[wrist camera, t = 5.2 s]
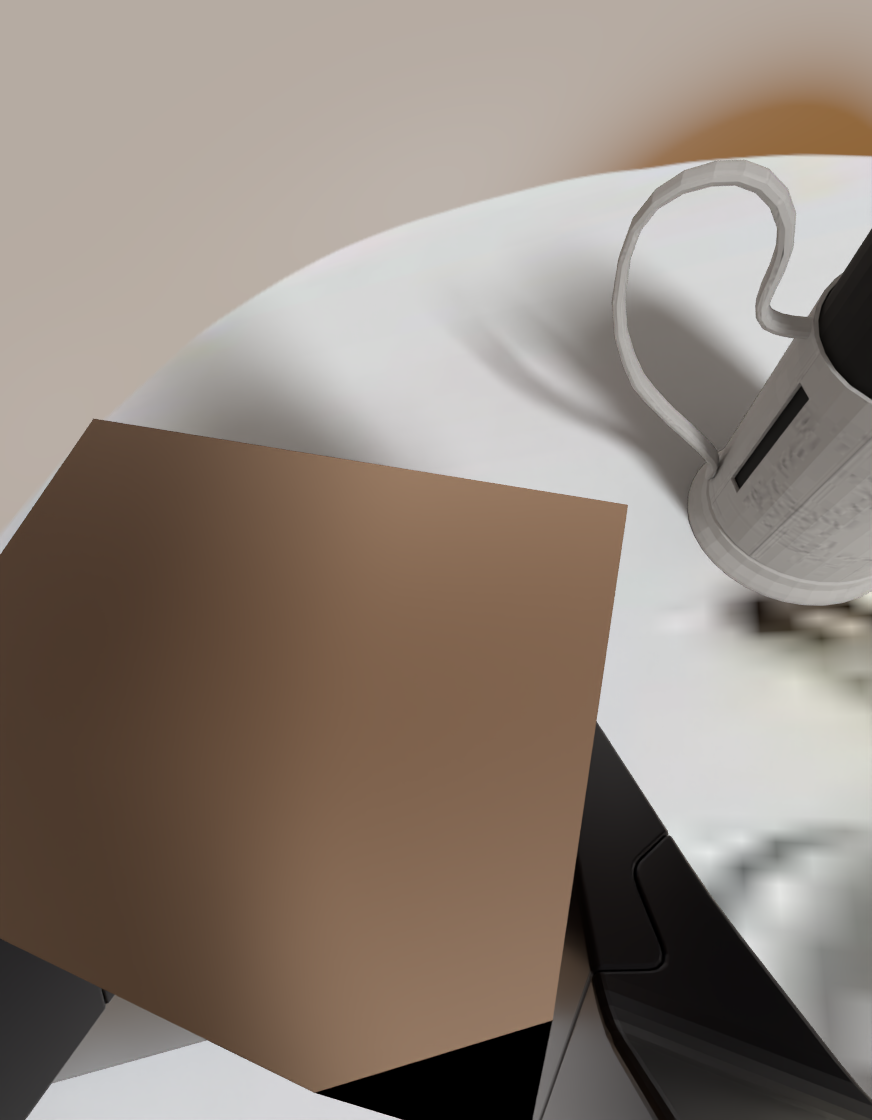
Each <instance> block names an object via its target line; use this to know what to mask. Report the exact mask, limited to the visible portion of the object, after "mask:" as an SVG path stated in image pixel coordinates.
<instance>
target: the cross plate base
mask: <svg viewBox="0 0 872 1120" xmlns="http://www.w3.org/2000/svg"><path fill="white" fill-rule="evenodd" d="M202 1041H206V1039H204V1038H202V1037H200V1036H198V1035H196V1034H194V1033H192V1032H190V1031H188V1030H186V1029H184V1028H182V1027H179V1026H177V1025H175V1024H173V1023H171V1022H169V1021H167V1020H165V1019H163V1018H161V1017H159V1016H157V1015H155V1014H153V1013H151V1012H149V1011H147V1010H145V1009H143V1008H141V1007H139V1006H137V1005H135V1004H133V1003H131V1002H129V1001H126V1000H124V999H122V998H120V997H118V996H116V995H115V996H114V997H113V998H112V1000H111V1001H110V1002H109V1003H108V1004H106V1008H105V1010H104V1012H103V1013H102V1014H101V1016H100V1017H99V1018H98V1020H97V1021H96V1023H95V1024H94V1025H93V1027H92V1028H91V1030H90V1031H89V1032H88V1034H87V1035H86V1036H85V1038H84V1039H83V1041H82V1042H81V1043H80V1045H79V1046H78V1048H77V1049H76V1050H75V1052H74V1053H73V1054H72V1056H71V1057H70V1059H69V1060H68V1061H67V1063H66V1064H65V1065H64V1067H63V1068H62V1070H61V1071H60V1072H59V1074H58V1075H57V1077H56V1078H55V1079H54V1081H53V1082H52V1083H55V1082H59V1081H62V1080H66V1079H70V1078H73V1077H77V1076H80V1075H84V1074H88V1073H91V1072H95V1071H98V1070H102V1069H105V1068H109V1067H113V1066H116V1065H120V1064H123V1063H127V1062H131V1061H134V1060H138V1059H141V1058H145V1057H149V1056H152V1055H156V1054H159V1053H163V1052H167V1051H170V1050H174V1049H177V1048H181V1047H184V1046H188V1045H192V1044H195V1043H199V1042H202ZM52 1083H51V1084H52Z"/></svg>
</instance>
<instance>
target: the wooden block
mask: <svg viewBox="0 0 872 1120" xmlns="http://www.w3.org/2000/svg"><path fill="white" fill-rule="evenodd" d="M627 507H628V505H625V504H619V503H613V502H607V501H600V500H594V499H588V498H582V497H576V496H569V495H563V494H557V493H551V492H545V491H538V490H532V489H526V488H520V487H514V486H507V485H501V484H495V483H489V482H483V481H476V480H470V479H464V478H458V477H452V476H445V475H439V474H433V473H427V472H421V471H414V470H408V469H402V468H396V467H390V466H383V465H377V464H371V463H365V462H359V461H352V460H346V459H340V458H334V457H328V456H321V455H315V454H309V453H303V452H297V451H290V450H284V449H278V448H272V447H266V446H259V445H253V444H247V443H241V442H235V441H229V440H222V439H216V438H210V437H204V436H198V435H191V434H185V433H179V432H173V431H167V430H160V429H154V428H148V427H142V426H136V425H129V424H123V423H117V422H111V421H105V420H98V419H93V420H92V422H91V423H90V425H89V426H88V428H87V429H86V431H85V432H84V434H83V435H82V436H81V438H80V439H79V441H78V442H77V444H76V445H75V447H74V448H73V450H72V451H71V453H70V454H69V455H68V457H67V458H66V460H65V461H64V463H63V464H62V466H61V467H60V469H59V470H58V471H57V473H56V474H55V476H54V477H53V479H52V480H51V482H50V483H49V485H48V486H47V487H46V489H45V490H44V492H43V493H42V495H41V496H40V498H39V499H38V501H37V502H36V503H35V505H34V506H33V508H32V509H31V511H30V512H29V514H28V515H27V517H26V518H25V520H24V521H23V522H22V524H21V525H20V527H19V528H18V530H17V531H16V533H15V534H14V536H13V537H12V538H11V540H10V541H9V543H8V544H7V546H6V547H5V549H4V550H3V552H2V553H1V554H0V939H2V940H4V941H6V942H8V943H10V944H12V945H14V946H16V947H18V948H20V949H23V950H25V951H27V952H29V953H31V954H33V955H35V956H37V957H39V958H41V959H43V960H45V961H47V962H49V963H51V964H53V965H55V966H57V967H59V968H61V969H63V970H65V971H67V972H69V973H71V974H73V975H76V976H78V977H80V978H82V979H84V980H86V981H88V982H90V983H92V984H94V985H96V986H98V987H100V988H102V989H104V990H106V991H108V992H110V993H112V994H114V995H116V996H118V997H120V998H122V999H124V1000H126V1001H129V1002H131V1003H133V1004H135V1005H137V1006H139V1007H141V1008H143V1009H145V1010H147V1011H149V1012H151V1013H153V1014H155V1015H157V1016H159V1017H161V1018H163V1019H165V1020H167V1021H169V1022H171V1023H173V1024H175V1025H177V1026H179V1027H182V1028H184V1029H186V1030H188V1031H190V1032H192V1033H194V1034H196V1035H198V1036H200V1037H202V1038H204V1039H206V1040H208V1041H210V1042H212V1043H214V1044H216V1045H218V1046H220V1047H222V1048H224V1049H226V1050H228V1051H230V1052H233V1053H235V1054H237V1055H239V1056H241V1057H243V1058H245V1059H247V1060H249V1061H251V1062H253V1063H255V1064H257V1065H259V1066H261V1067H263V1068H265V1069H267V1070H269V1071H271V1072H273V1073H275V1074H277V1075H279V1076H281V1077H283V1078H286V1079H288V1080H290V1081H292V1082H294V1083H296V1084H298V1085H300V1086H302V1087H304V1088H306V1089H308V1090H310V1091H312V1092H314V1093H317V1094H320V1095H324V1096H327V1097H330V1098H333V1099H337V1100H340V1101H343V1102H347V1103H350V1104H353V1105H356V1106H360V1107H363V1108H366V1109H369V1110H373V1111H376V1112H379V1113H383V1114H386V1115H389V1116H392V1117H396V1118H399V1119H402V1120H532V1119H533V1114H534V1110H535V1105H536V1100H537V1095H538V1090H539V1085H540V1080H541V1075H542V1070H543V1065H544V1060H545V1055H546V1050H547V1046H548V1041H549V1036H550V1031H551V1026H552V1021H553V1014H554V1007H555V1001H556V994H557V987H558V980H559V973H560V966H561V960H562V953H563V946H564V939H565V932H566V925H567V918H568V912H569V905H570V898H571V891H572V884H573V877H574V870H575V864H576V857H577V850H578V843H579V836H580V829H581V823H582V816H583V809H584V802H585V795H586V788H587V781H588V775H589V768H590V761H591V754H592V747H593V740H594V734H595V727H596V720H597V713H598V706H599V699H600V692H601V686H602V679H603V672H604V665H605V658H606V651H607V644H608V638H609V631H610V624H611V617H612V610H613V603H614V597H615V590H616V583H617V576H618V569H619V562H620V555H621V549H622V542H623V535H624V528H625V521H626V514H627Z"/></svg>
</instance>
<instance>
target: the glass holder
mask: <svg viewBox="0 0 872 1120" xmlns="http://www.w3.org/2000/svg"><path fill="white" fill-rule="evenodd" d="M733 185H735V186H738V187H741V188H743V189H746V190H749V191H752V192H754V193H756V194H757V195H758V196H759V197H760V198H761V199H762V200H763V201H764V202H765V203H766V204H767V205H768V206H769V207H770V210H771V213H772V215H773V218H774V221H775V223H776V226H777V239H776V247H775V250H774V253H773V256H772V259H771V262H770V265H769V267H768V269H767V272H766V274H765V276H764V278H763V280H762V283H761V286H760V289H759V292H758V295H757V298H756V305H755V307H756V319H757V321H758V322H759V324H760V325H761V327H762V328H763V329H764V330H766V331H768V332H770V333H772V334H775V335H779V336H783V337H789V338H794V339H793V341H792V342H791V344H790V346H789V347H788V349H787V350H786V352H785V353H784V355H783V357H782V358H781V360H780V361H779V363H778V365H777V366H776V368H775V369H774V371H773V372H772V374H771V376H770V377H769V379H768V380H767V382H766V383H765V385H764V387H763V388H762V390H761V391H760V393H759V395H758V396H757V398H756V399H755V401H754V402H753V404H752V406H751V407H750V409H749V410H748V412H747V413H746V415H745V417H744V418H743V420H742V421H741V423H740V425H739V426H738V428H737V429H736V431H735V432H734V434H733V436H732V437H731V439H730V440H729V442H728V443H727V445H726V447H725V448H724V449H723V450H721V451H719V452H717V450H716V449H715V447H714V446H713V445H712V444H711V443H710V442H709V440H708V439H707V438H706V437H705V436H704V435H703V434H702V433H701V432H700V431H699V430H698V429H697V428H696V427H695V426H693V425H692V424H691V423H690V422H689V421H688V420H687V419H686V418H685V417H684V416H682V415H681V414H680V413H679V412H678V411H677V410H676V409H675V408H674V407H673V406H672V405H671V404H670V403H669V402H668V401H667V400H666V399H665V398H664V397H663V396H662V395H661V394H660V392H659V391H658V390H657V389H656V388H655V387H654V385H653V384H652V383H651V382H650V380H649V379H648V378H647V376H646V375H645V374H644V372H643V370H642V368H641V365H640V363H639V361H638V359H637V357H636V354H635V352H634V349H633V345H632V342H631V338H630V335H629V332H628V328H627V314H626V298H625V296H626V288H627V281H628V274H629V267H630V260H631V256H632V253H633V251H634V248H635V245H636V242H637V240H638V237H639V234H640V232H641V230H642V229H643V227H644V226H645V225H646V224H647V222H648V221H649V220H650V218H651V217H652V216H653V215H654V213H655V212H656V211H657V210H658V209H659V208H661V207H662V206H664V205H666V204H667V203H669V202H671V201H672V200H674V199H676V198H677V197H679V196H681V195H682V194H685V193H688V192H692V191H696V190H700V189H703V188H707V187H711V186H733ZM795 221H796V211H795V208H794V205H793V202H792V199H791V196H790V193H789V190H788V188H787V187H786V186H785V185H784V184H783V183H782V182H781V181H780V180H779V179H778V178H777V177H776V175H775V174H774V173H773V172H772V171H771V170H770V169H768V168H766V167H763V166H760V165H758V164H755V163H752V162H750V161H747V160H725V161H714V162H711V163H707V164H704V165H701V166H697V167H694V168H691V169H687V170H684V171H683V172H681V173H680V174H678V175H677V176H675V177H674V178H672V179H670V180H669V181H667V182H666V183H664V184H663V185H661V186H660V187H658V188H657V189H656V190H655V191H654V192H653V193H652V195H651V196H650V197H649V198H648V200H647V201H646V202H645V203H644V205H643V206H642V207H641V208H640V210H639V211H638V212H637V214H636V215H635V216H634V217H633V219H632V222H631V225H630V227H629V230H628V233H627V236H626V238H625V241H624V244H623V247H622V250H621V252H620V256H619V259H618V264H617V271H616V278H615V284H614V291H613V298H612V311H613V325H614V337H615V341H616V344H617V348H618V351H619V354H620V358H621V361H622V365H623V367H624V370H625V372H626V374H627V376H628V379H629V381H630V383H631V386H632V388H633V389H634V390H635V391H636V392H637V394H638V395H639V396H640V397H641V398H642V399H643V401H644V402H645V403H646V404H647V405H648V406H649V407H650V408H651V409H652V410H653V411H654V412H655V413H656V414H657V415H658V416H659V417H660V418H661V419H662V420H663V421H664V422H665V423H666V424H667V425H668V426H669V427H670V428H672V429H673V430H674V431H675V432H676V433H677V434H678V435H680V436H681V437H682V438H683V439H684V440H685V441H686V442H687V443H688V444H689V445H691V446H692V447H693V448H694V449H695V450H696V451H697V452H698V453H699V454H700V455H701V456H702V457H703V458H704V460H705V461H706V463H705V464H704V465H703V466H702V467H701V468H700V469H699V471H698V472H697V474H696V476H695V478H694V479H693V481H692V484H691V487H690V491H689V494H688V508H687V509H688V515H689V521H690V525H691V527H692V530H693V533H694V535H695V537H696V539H697V541H698V542H699V544H700V546H701V547H702V549H703V551H704V552H705V553H706V554H707V556H708V557H709V558H710V559H711V560H712V561H713V563H714V564H715V565H716V566H718V567H719V568H720V569H721V570H722V571H723V572H724V573H726V574H727V575H728V576H729V577H731V578H732V579H734V580H735V581H737V582H738V583H740V584H741V585H743V586H745V587H746V588H749V589H751V590H753V591H755V592H757V593H759V594H761V595H764V596H767V597H770V598H773V599H776V600H779V601H783V602H788V603H794V604H800V605H831V604H838V603H844V602H847V601H850V600H853V599H856V598H860V597H861V596H863V595H865V594H867V593H869V592H871V591H872V229H871V231H870V232H869V234H868V235H867V237H866V238H865V240H864V241H863V243H862V245H861V246H860V248H859V249H858V251H857V252H856V254H855V255H854V257H853V258H852V260H851V262H850V263H849V265H848V266H847V268H846V269H845V271H844V272H843V273H842V274H841V275H839V276H838V277H837V278H835V280H834V281H833V282H832V283H831V284H830V285H829V286H828V287H827V288H826V289H825V290H824V292H823V293H822V295H821V297H820V298H819V300H818V301H817V303H816V305H815V306H814V308H813V309H812V311H811V312H810V314H809V316H808V317H801V316H792V315H787V314H783V313H780V312H778V311H776V310H773V309H772V308H771V306H770V302H771V299H772V297H773V295H774V292H775V290H776V288H777V286H778V284H779V282H780V280H781V278H782V276H783V274H784V272H785V269H786V267H787V264H788V261H789V258H790V256H791V253H792V250H793V245H794V234H795Z"/></svg>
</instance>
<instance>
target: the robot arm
mask: <svg viewBox="0 0 872 1120" xmlns="http://www.w3.org/2000/svg"><path fill="white" fill-rule="evenodd" d="M114 996H115V995H114V994H112V993H110V992H108V991H106V990H104V989H102V988H100V987H98V986H96V985H94V984H92V983H90V982H88V981H86V980H84V979H82V978H80V977H78V976H76V975H73V974H71V973H69V972H67V971H65V970H63V969H61V968H59V967H57V966H55V965H53V964H51V963H49V962H47V961H45V960H43V959H41V958H39V957H37V956H35V955H33V954H31V953H29V952H27V951H25V950H23V949H20V948H18V947H16V946H14V945H12V944H10V943H8V942H6V941H4V940H2V939H0V1120H25V1119H26V1118H27V1117H28V1115H29V1114H30V1113H31V1111H32V1110H33V1108H34V1107H35V1106H36V1104H37V1103H38V1101H39V1100H40V1099H41V1097H42V1096H43V1095H44V1093H45V1092H46V1090H47V1089H48V1088H49V1086H50V1085H51V1083H52V1082H53V1081H54V1079H55V1078H56V1077H57V1075H58V1074H59V1072H60V1071H61V1070H62V1068H63V1067H64V1065H65V1064H66V1063H67V1061H68V1060H69V1059H70V1057H71V1056H72V1054H73V1053H74V1052H75V1050H76V1049H77V1048H78V1046H79V1045H80V1043H81V1042H82V1041H83V1039H84V1038H85V1036H86V1035H87V1034H88V1032H89V1031H90V1030H91V1028H92V1027H93V1025H94V1024H95V1023H96V1021H97V1020H98V1018H99V1017H100V1016H101V1014H102V1013H103V1012H104V1010H105V1008H106V1004H108V1003H109V1002H110V1001H111V1000H112V998H113V997H114ZM532 1120H872V1099H871V1098H870V1097H869V1096H868V1095H867V1094H866V1093H865V1092H864V1091H863V1090H862V1089H861V1087H860V1086H859V1085H858V1084H857V1083H856V1082H855V1080H854V1079H853V1078H852V1077H851V1075H850V1074H849V1073H848V1072H847V1071H846V1069H845V1068H844V1067H843V1066H842V1065H841V1063H840V1062H839V1061H838V1060H837V1058H836V1057H835V1056H834V1054H833V1053H832V1052H831V1051H830V1049H829V1048H828V1047H827V1045H826V1044H825V1043H824V1042H823V1040H822V1039H821V1038H820V1036H819V1035H818V1034H817V1033H816V1031H815V1030H814V1029H813V1027H812V1026H811V1025H810V1024H809V1022H808V1021H807V1020H806V1019H805V1017H804V1016H803V1015H802V1013H801V1012H800V1011H799V1010H798V1008H797V1007H796V1006H795V1004H794V1003H793V1002H792V1001H791V999H790V998H789V997H788V995H787V994H786V993H785V992H784V990H783V989H782V988H781V986H780V985H779V984H778V983H777V981H776V980H775V979H774V977H773V976H772V975H771V974H770V972H769V971H768V970H767V968H766V967H765V966H764V965H763V963H762V962H761V961H760V959H759V958H758V957H757V956H756V954H755V953H754V952H753V951H752V949H751V948H750V947H749V945H748V944H747V943H746V942H745V940H744V939H743V938H742V936H741V935H740V934H739V932H738V931H737V930H736V928H735V927H734V926H733V924H732V923H731V922H730V920H729V919H728V918H727V916H726V915H725V914H724V912H723V911H722V910H721V908H720V907H719V906H718V904H717V903H716V902H715V900H714V899H713V898H712V896H711V895H710V893H709V892H708V890H707V889H706V888H705V886H704V885H703V883H702V882H701V880H700V879H699V877H698V876H697V874H696V873H695V871H694V870H693V869H692V867H691V866H690V864H689V863H688V861H687V860H686V858H685V857H684V855H683V854H682V852H681V851H680V849H679V847H678V846H677V844H676V843H675V841H674V840H673V838H672V837H671V836H669V835H668V831H667V829H666V828H665V826H664V825H663V823H662V822H661V820H660V819H659V817H658V815H657V814H656V812H655V811H654V809H653V808H652V806H651V805H650V803H649V802H648V800H647V798H646V797H645V795H644V794H643V792H642V791H641V789H640V788H639V786H638V785H637V783H636V781H635V780H634V778H633V777H632V775H631V774H630V772H629V771H628V769H627V768H626V766H625V764H624V763H623V761H622V760H621V758H620V757H619V755H618V754H617V752H616V751H615V749H614V747H613V746H612V744H611V743H610V741H609V740H608V738H607V737H606V735H605V734H604V732H603V730H602V729H601V727H600V726H599V724H598V723H597V721H596V727H595V734H594V740H593V747H592V754H591V761H590V768H589V775H588V781H587V788H586V795H585V802H584V809H583V816H582V823H581V829H580V836H579V843H578V850H577V857H576V864H575V870H574V877H573V884H572V891H571V898H570V905H569V912H568V918H567V925H566V932H565V939H564V946H563V953H562V960H561V966H560V973H559V980H558V987H557V994H556V1001H555V1007H554V1014H553V1021H552V1026H551V1031H550V1036H549V1041H548V1046H547V1050H546V1055H545V1060H544V1065H543V1070H542V1075H541V1080H540V1085H539V1090H538V1095H537V1100H536V1105H535V1110H534V1114H533V1119H532Z"/></svg>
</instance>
